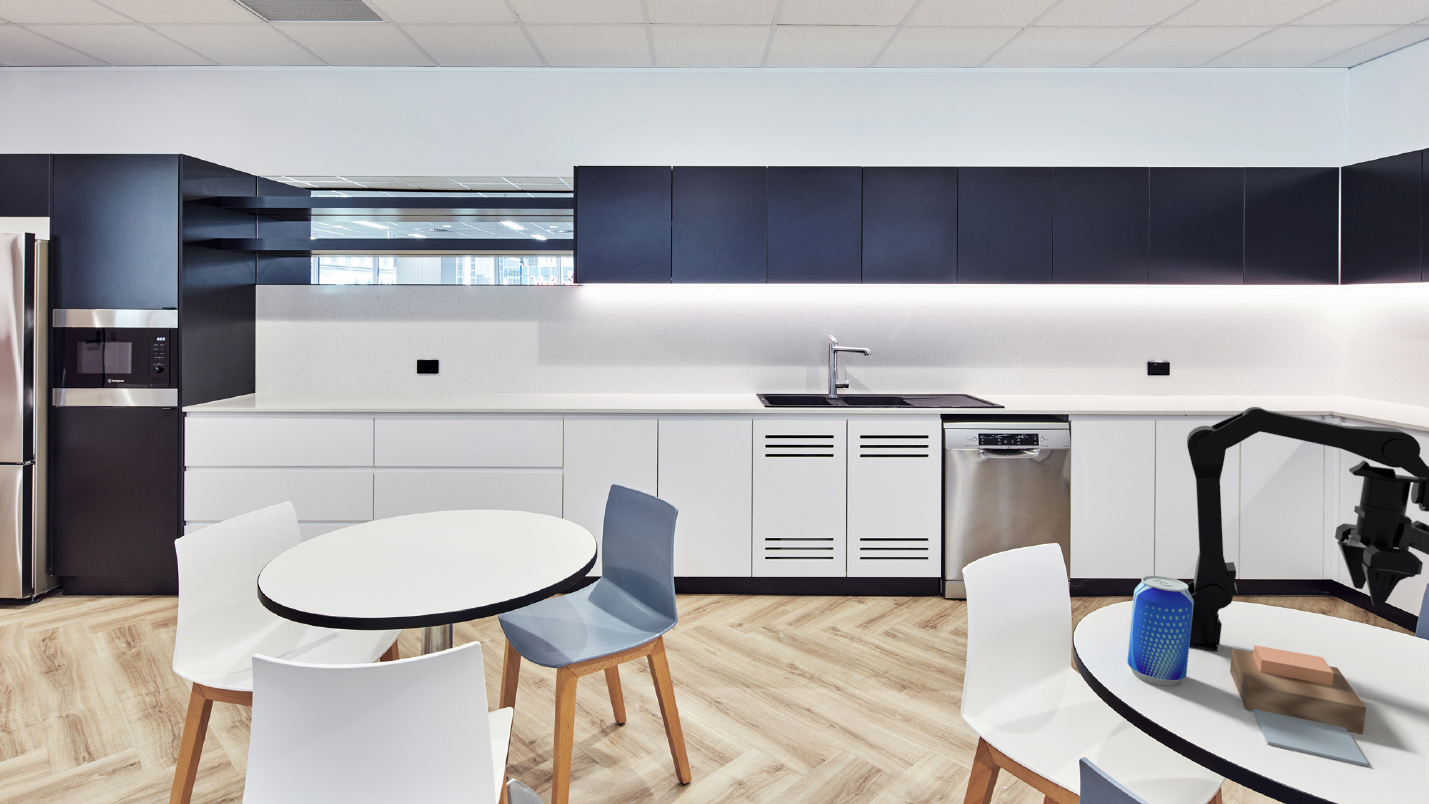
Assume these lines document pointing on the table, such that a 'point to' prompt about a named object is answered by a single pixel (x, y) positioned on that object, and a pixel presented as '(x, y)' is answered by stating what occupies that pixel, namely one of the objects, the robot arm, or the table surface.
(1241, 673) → the brown box
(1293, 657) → the peach rectangular block
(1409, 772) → the table surface
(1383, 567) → the robot arm
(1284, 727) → the mat
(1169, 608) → the beer can
